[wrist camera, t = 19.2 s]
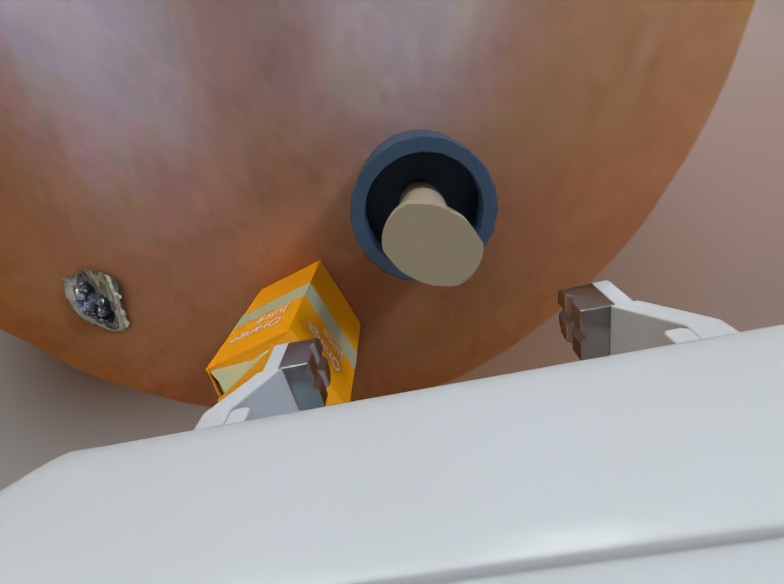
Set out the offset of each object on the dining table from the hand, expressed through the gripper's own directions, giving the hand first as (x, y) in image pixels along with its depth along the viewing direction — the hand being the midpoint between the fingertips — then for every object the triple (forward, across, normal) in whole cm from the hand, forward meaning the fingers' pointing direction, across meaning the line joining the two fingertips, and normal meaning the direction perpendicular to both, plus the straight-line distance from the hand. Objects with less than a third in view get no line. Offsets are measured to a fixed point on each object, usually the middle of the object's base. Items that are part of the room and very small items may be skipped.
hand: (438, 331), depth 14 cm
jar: (+28, -1, +2) cm, 28 cm away
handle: (+27, -1, +2) cm, 27 cm away
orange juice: (+28, +13, +11) cm, 33 cm away
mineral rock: (+28, +35, +6) cm, 46 cm away
